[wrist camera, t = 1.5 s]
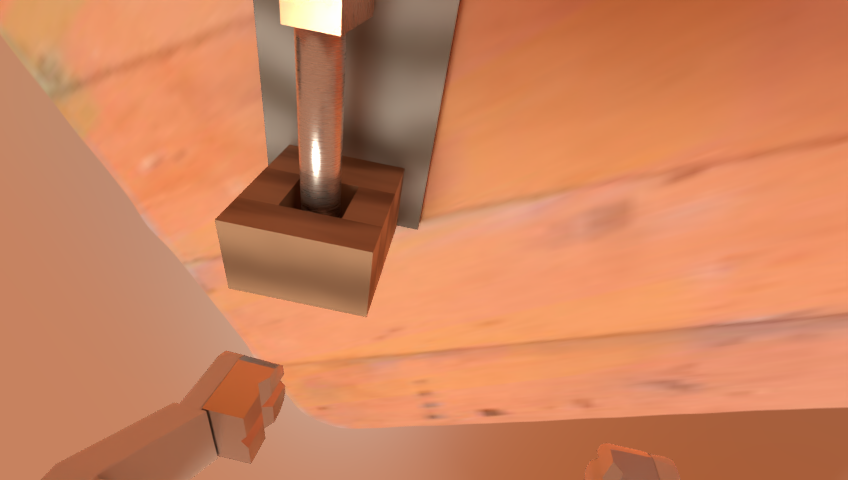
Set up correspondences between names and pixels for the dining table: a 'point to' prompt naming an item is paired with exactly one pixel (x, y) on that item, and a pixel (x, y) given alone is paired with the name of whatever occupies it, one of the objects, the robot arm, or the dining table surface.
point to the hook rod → (321, 93)
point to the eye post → (361, 159)
